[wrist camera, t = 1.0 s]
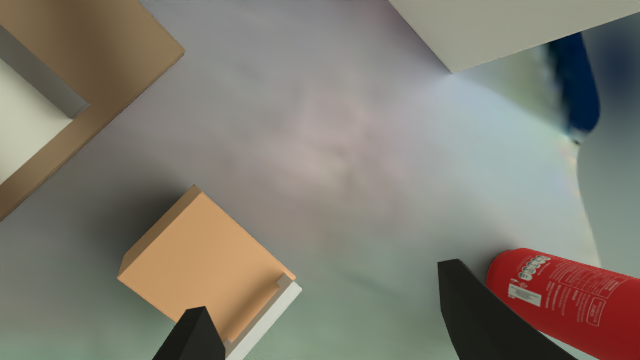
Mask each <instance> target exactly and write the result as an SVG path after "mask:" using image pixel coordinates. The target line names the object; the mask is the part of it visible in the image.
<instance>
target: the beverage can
mask: <svg viewBox="0 0 640 360" xmlns="http://www.w3.org/2000/svg"><path fill="white" fill-rule="evenodd" d="M486 286H487V287H488V288H489V289H490V290H491V291H492V292H493V293H494V294H495V295H496V296H497V297H499V298H500V299H501V300H502V301H503V302H504V303H505V304H506V305H508V306H509V307H510V308H511V309H512V310H513V311H514V312H516V313H517V314H518V315H519V316H520V317H522V318H523V319H524V320H525V321H526V322H528V323H529V324H530V325H531V326H533V327H534V328H535V329H537V330H539V331H541V332H543V333H545V334H547V335H549V336H551V337H553V338H555V339H558V340H560V341H562V342H564V343H566V344H568V345H570V346H572V347H574V348H576V349H578V350H581V351H583V352H585V353H587V354H589V355H591V356H593V357H595V358H597V359H599V360H640V279H638V278H634V277H630V276H627V275H623V274H620V273H616V272H612V271H608V270H605V269H601V268H597V267H594V266H590V265H586V264H583V263H579V262H575V261H572V260H568V259H564V258H561V257H557V256H553V255H550V254H546V253H542V252H539V251H535V250H531V249H527V248H520V249H516V250H507V251H504V252H502V253H500V254H499V255H497V256H496V257H495V258H494V260H493V261H492V262H491V264H490V266H489V268H488V271H487V274H486Z"/></svg>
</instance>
